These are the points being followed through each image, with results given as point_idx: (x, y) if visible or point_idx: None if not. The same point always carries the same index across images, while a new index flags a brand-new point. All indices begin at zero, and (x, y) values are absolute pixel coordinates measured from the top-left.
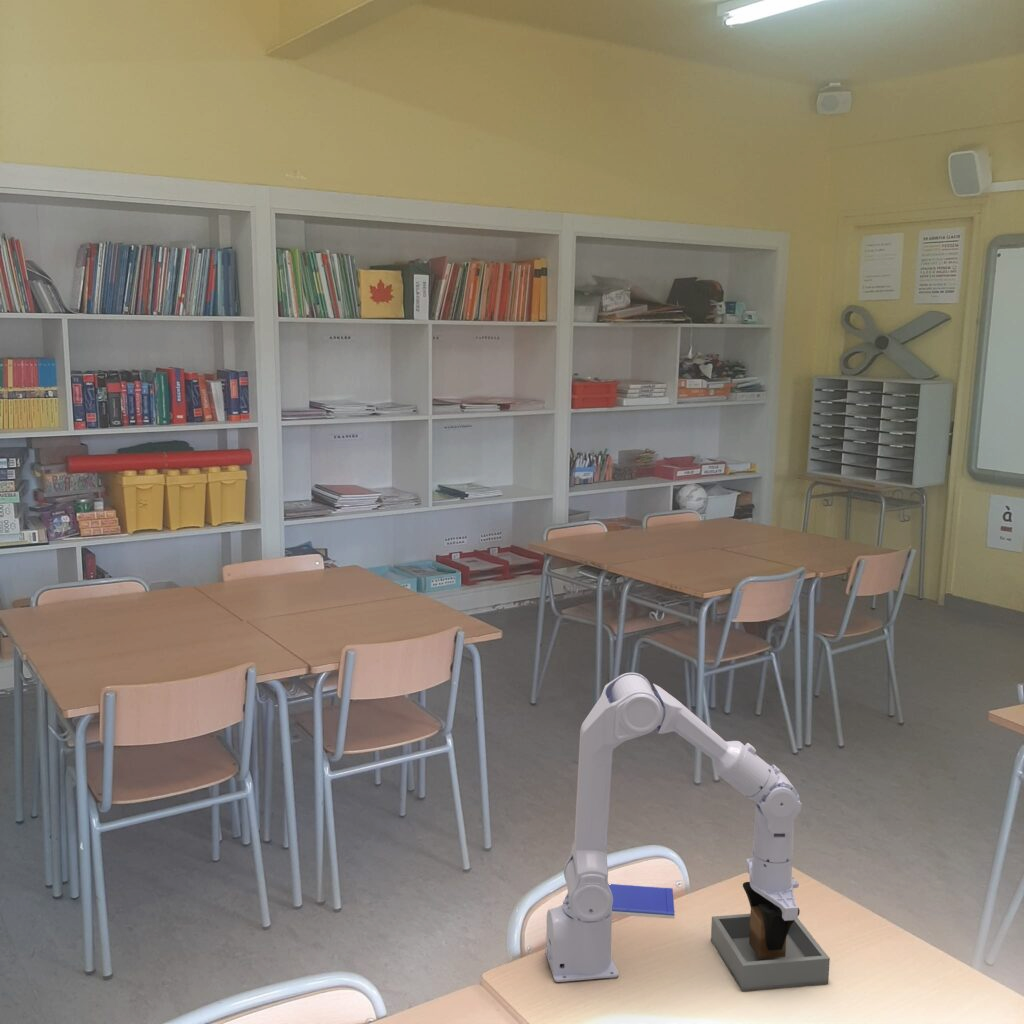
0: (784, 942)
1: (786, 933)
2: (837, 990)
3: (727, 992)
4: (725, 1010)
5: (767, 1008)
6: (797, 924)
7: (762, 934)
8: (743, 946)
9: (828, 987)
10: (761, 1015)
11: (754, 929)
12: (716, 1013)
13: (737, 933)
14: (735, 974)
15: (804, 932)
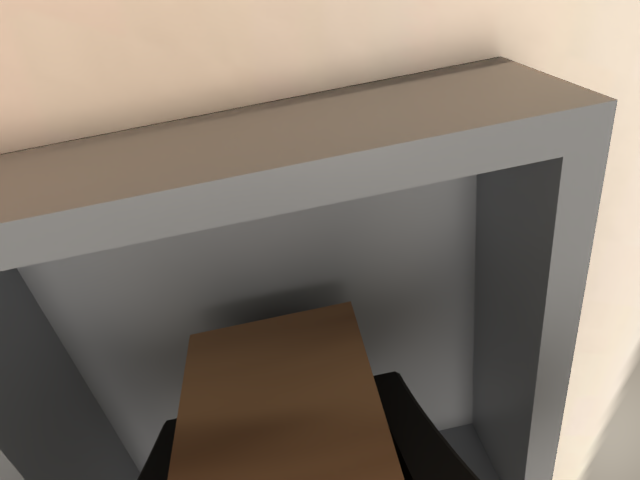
0: (371, 378)
1: (467, 470)
2: (567, 13)
3: None
4: (567, 457)
5: (597, 354)
6: (67, 257)
7: None
8: None
9: (528, 64)
10: (626, 374)
11: None
12: (573, 475)
13: (112, 458)
14: None
15: (203, 225)
